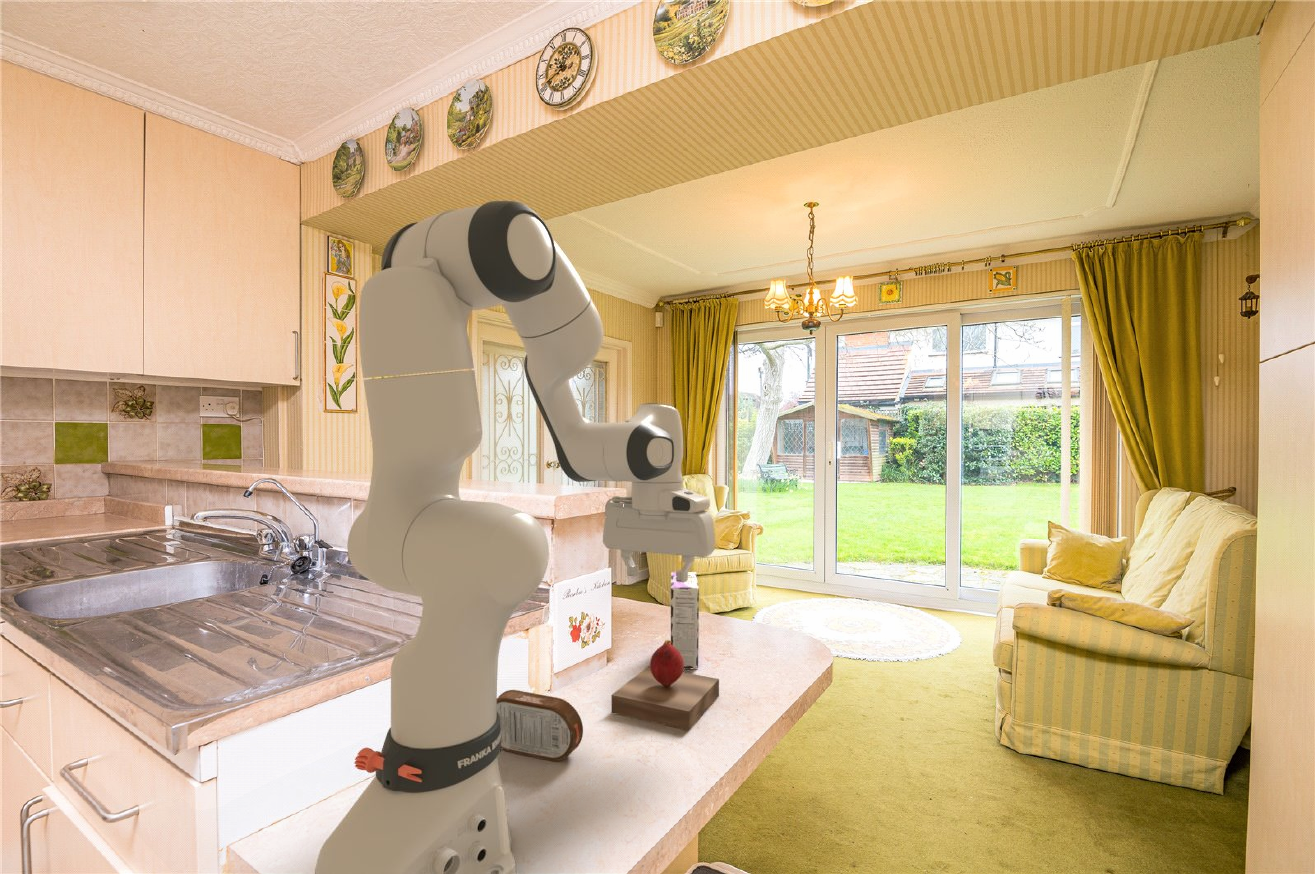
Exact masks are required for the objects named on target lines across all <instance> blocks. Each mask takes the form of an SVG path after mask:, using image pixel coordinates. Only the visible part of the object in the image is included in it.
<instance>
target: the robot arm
mask: <svg viewBox="0 0 1315 874" xmlns="http://www.w3.org/2000/svg"><path fill="white" fill-rule="evenodd" d="M381 255H382V257H381V263H380V271H377V273H375V274H373V275H372V276H370V277H369V278H368V279H367V280H366V281H365V283H364V284H363V286H362V288H361V291H360V296H359V297H360V298H359V308H358V309H359V312H358V337H359V338H358V340H359V354H360V366H361V373H362V378H363V386H364V392H365V400H366V407H367V413H368V420H369V426H370V435H371V437H370V438H371V443H372V447H371V448H372V469H371V475H370V476H371V478H370V485H369V491H368V495H367V500H366V503H365V506H364V508H363V510H362V511H361V512H360V513H359V515H358V516H357V517H356V519H354V521H353V523H352V525H351V527H350V530H349V533H348V537H347V548H346V549H347V555H348V559H349V561H350V563H351V565H352V567H353V568H354V569H355V571H356V572H358V574H360V576H363V577H364V578H366V579H368V581H371V582H373V584H375V585H377V586H379V587H381V588H383V589H386V590H387V591H390V592H395V593H396V592H397V593H400V594H406V595H411V596H414V597H415V596H416V597H420V598H421V602H422V603H421V604H422V610H421V611H422V612H421V616H420V617H421V618H420V621H419V625H418V627H417V632H416V634H415V636H414V637H413V638H411V639H409V640H408V641H407V642H406V643H405V644H404V645H403V646H401V647H400V648H399V649H398V651H397V652H396V654H395V655H394V657H393V659H392V662H391V666H390V727H389V729H388V731H387V733H386V735H385V739H384V742H383V746H382V749H381V751H379V750H374V749H372V748H370V747H364V748H362V749H360V750H359V751H358V752H357V755H356V757H354V760H355V761H354V762H353V763H354V767H355V768H356V769H357V770H360V771H366V772H367V773H369V774H373V773H375V776H374V778H372V780H371V781H370V782H369V784H368V785H367V787H366V788H365V789H364V790H363V792H362V793H361V794H360V796H359V797H358V799H357V800H355V802H354V804H353V805H352V807H351V808H350V809H349V810H348V811H347V813H346V814H345V816H344V817H343V818H342V819H341V821H340V822H339V823H338V825H337V826H336V828H335V829H334V830H333V831H332V832H331V834H330V835H329V836H328V838H327V839H326V840H325V842H323V844H322V846H321V847H320V851H319V854H318V856H317V859H316V864H315V869H314V874H517V867H516V860H515V857H514V854H513V852H512V850H511V849H512V832H511V830H510V826H509V825H508V824H509V823H508V819H507V809H506V800H505V798H506V797H505V791H504V786H503V781H502V776H501V771H500V765H499V759H498V757H499V754H500V753H501V752H500V751H501V750H502V748H501V736H502V730H501V726H500V715H499V713H498V712H497V698H498V672H499V671H498V669H499V667H498V666H499V655H500V648H501V643H502V640H503V636H504V634H505V630H506V628H507V625H508V624H509V621H510V619H511V617H512V616H513V614H514V612H515V611H516V610H517V609H518V607H520V606H521V605H522V604H523V603H525V602H526V601H527V600H528V599H530V598H531V596H533V594H534V593H535V592H536V591H537V590H538V588H539V587H540V585H541V584H542V582H543V580H544V578H545V575H546V573H547V569H548V565H549V557H550V549H549V543H548V542H549V541H548V538H547V535H546V532H545V530H544V528H543V526H542V525H541V523H540V522H539V521H538V519H536V518H535V517H534V516H533V515H531V514H528V513H526V512H523V511H521V510H518V509H516V508H513V507H509V506H507V505H505V504H501V503H497V502H491V501H476V500H466V499H465V500H464V499H463V500H462V499H461V497H460V491H459V488H460V478H461V473H462V469H463V465H464V463H465V460H467V458H469V457H470V456H472V454H473V453H474V452H475V451H476V450H477V449H478V447H479V446H480V444H481V441H482V438H483V426H482V425H483V424H482V419H481V412H480V411H481V410H480V409H481V408H480V403H479V396H478V388H477V387H478V386H477V381H476V380H477V379H476V372H475V367H474V366H475V365H474V359H473V354H472V353H473V352H472V347H471V343H470V338H469V333H468V324H469V319H470V315H471V312H472V311H480V310H481V311H482V310H485V309H491V308H494V307H498V306H502V307H503V308H504V311H505V314H507V316H508V318H509V320H510V322H511V324H512V326H513V327H514V329H515V331H516V333H517V334H518V336H519V338H520V340H521V343H522V344H523V346H524V349H525V353H526V355H525V357H524V361H523V369H524V373H525V374H524V375H525V378H526V380H527V383H528V384H527V385H528V386H529V388H530V389H529V390H530V392H531V394H532V397H533V398H534V401H535V402H536V406H537V408H538V409H539V411H540V414H541V416H542V418H543V421H544V423H545V426H546V427H547V430H548V432H549V434H550V436H551V439H552V441H553V445H554V448H555V453H556V458H557V461H558V464H559V466H560V468H561V469H562V471H563V473H564V474H565V475H566V477H568V478H569V479H570V480H572V481H574V482H579V483H584V482H586V483H587V482H588V483H589V482H598V481H599V482H616V483H617V482H626V483H627V482H631V485H632V486H631V488H632V489H631V496H619V495H615V496H612V497H611V498H610V499H608V500H607V501H606V502H605V503H604V504H605V505H604V515H605V517H604V518H605V519H604V524H603V534H602V543H603V545H604V547H605V548H606V549H610V550H620V557H621V559H622V561H623V562H624V564H625V566H626V575H627V576H628V577H637V576H639V573H640V572H639V569H640V565H639V564H635V562H634V560H633V559H634V558H633V557H632V556H633V555H634V552H643V553H652V554H653V553H654V554H660V555H661V554H663V555H673V556H681V562H682V563H684V564H683V566H682V568H681V569H679V570H676V571H675V572H676V576H677V577H676V581H677V582H687V580H688V572H689V570H690V569H691V567H692V565H693V564H694V562H695V558H707V557H709V556H710V555H712V554H713V553H714V551H715V548H716V536H715V535H716V534H715V525H714V519H713V516H712V515H711V514H710V512H708V511H707V510H708V509H710V504H711V500H710V498H709V497H707V496H706V495H703V494H700V493H698V492H694V491H692V490H690V489H687V488H685V487H684V477H683V474H682V462H683V458H684V433H683V425H682V419H681V415H680V412H679V410H678V409H677V408H676V407H674V406H671V405H669V404H662V403H657V402H652V403H651V402H647V403H643V404H640V405H638V406H637V407H636V410H635V414H634V415H633V416H632V417H630V418H628V419H626V420H624V421H619V422H595V421H592V420H591V419H588V418H586V417H584V416H583V415H582V414H581V411H580V407H579V406H578V403H577V401H576V398H575V395H574V393H573V391H572V389H571V388H572V387H571V385H570V382H569V380H570V379H572V378H574V377H576V376H578V375H579V374H581V373H583V371H584V370H585V369H586V368H588V366H589V365H591V364H592V362H593V361H594V360H595V359H596V357H597V355H598V354H599V352H600V351H601V348H602V344H603V341H604V334H605V333H604V332H605V331H604V324H603V321H602V319H601V316H600V314H599V311H598V309H597V307H596V304H595V303H594V301H593V299H592V297H591V294H590V293H589V291H588V289H587V287H586V286H585V284H584V281H583V280H582V279H581V276H580V275H579V273H578V271H577V270H576V268H575V267H574V266H573V263H572V262H571V261H570V259H569V258H568V256H567V255H566V254H565V252H564V251H563V250H562V249H561V247H560V245H559V244H558V243H557V242H556V241H555V240H554V237H553V235H552V233H551V231H550V229H549V227H548V225H547V224H546V223H545V221H544V220H543V219H542V218H541V216H540V215H538V213H536V211H534V210H533V209H532V208H531V207H529V206H528V205H526V204H525V203H522V202H519V201H513V200H494V201H492V200H491V201H488V202H486V203H484V204H482V205H477V206H471V207H470V206H469V207H463V208H460V209H450V210H444V211H442V212H440V213H437V214H434V215H432V216H429V217H427V218H425V219H422V220H420V221H418V222H417V221H416V222H412V223H409V224H407V225H405V226H403V227H402V228H400V229H399V230H398V231H397V232H395V233H394V234H393V235H392V236H391V237H390V239H389V240H388V241H387V243H386V245H385V246H384V249H383V253H382V254H381ZM623 504H624V507H623Z"/></svg>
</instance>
